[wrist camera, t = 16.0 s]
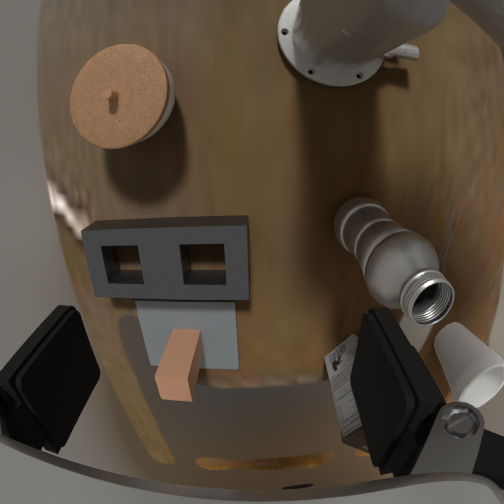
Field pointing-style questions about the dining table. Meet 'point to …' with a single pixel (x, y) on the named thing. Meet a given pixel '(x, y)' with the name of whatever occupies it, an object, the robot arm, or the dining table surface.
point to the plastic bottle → (394, 261)
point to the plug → (180, 365)
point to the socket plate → (168, 258)
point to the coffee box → (345, 393)
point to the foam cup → (468, 365)
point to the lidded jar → (121, 97)
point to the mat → (191, 317)
